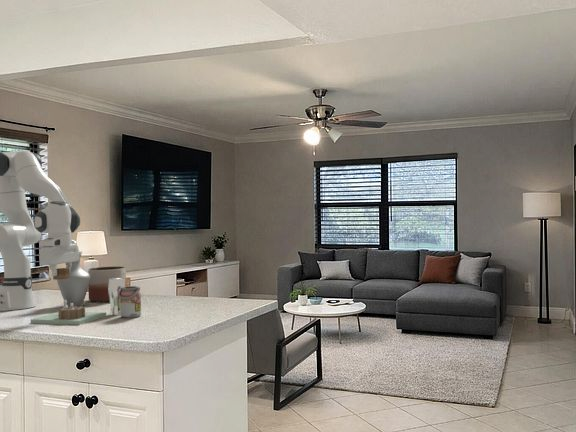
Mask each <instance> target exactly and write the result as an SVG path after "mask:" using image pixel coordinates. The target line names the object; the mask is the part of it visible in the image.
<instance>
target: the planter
mask: <svg viewBox="0 0 576 432" xmlns="http://www.w3.org/2000/svg"><path fill="white" fill-rule="evenodd" d="M87 270H88V272H87V273H88V274H89V275H90V282H89V286H88V289H87V290H88V301H90V302H92V303H110V299H109V294H108V279H110V278H125V287H127V276H126V275H127V273H126V266H118V265H117V266H116V265H115V266H97V267H90V268H88V269H87Z"/></svg>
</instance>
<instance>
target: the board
mask: <svg viewBox="0 0 576 432" xmlns="http://www.w3.org/2000/svg"><path fill="white" fill-rule="evenodd" d="M105 316H106V317H107V312H100V311H99V312H98V311H97V312H96V311H95V312H94V311H86V307H85V306H77V307H76V306H73V303H70V307H68V306H67V302H66V300H65V301H64V300H63V305H62V308H58V311H57V312H54V313H49V314H47V315H42V316H39V317H35V318H34V317H33V318H30V324H40V325H41V324H42V325H43V324H44V325H68V324H75V326H80V324H81V325H83V323H84V324H87V323H89V322H93V321H97V320H99V319H102V318H106V317H105ZM86 322H87V323H86Z"/></svg>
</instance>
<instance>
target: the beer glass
mask: <svg viewBox="0 0 576 432" xmlns="http://www.w3.org/2000/svg"><path fill="white" fill-rule="evenodd" d="M121 287H125V278H110V279H108V294H109V299H110V302H109V304H110V311H109V315H110V316H121V311H120V298H119V297H118V293H119V291H120V289H121Z"/></svg>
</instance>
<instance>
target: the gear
mask: <svg viewBox="0 0 576 432" xmlns="http://www.w3.org/2000/svg"><path fill="white" fill-rule="evenodd" d="M56 270H57V271H58V275H57V276H53V275H52V278H53V280H54V281H57V280H60V279H68V278H70V271H69V268H66V267H62V268H61V267H60V268H59V267H58V268H56Z"/></svg>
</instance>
